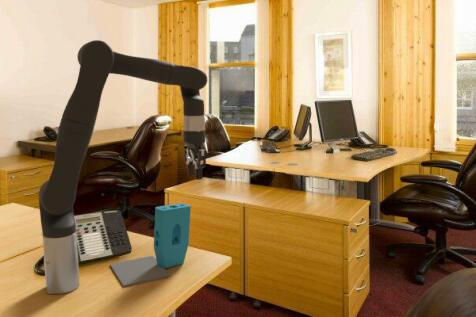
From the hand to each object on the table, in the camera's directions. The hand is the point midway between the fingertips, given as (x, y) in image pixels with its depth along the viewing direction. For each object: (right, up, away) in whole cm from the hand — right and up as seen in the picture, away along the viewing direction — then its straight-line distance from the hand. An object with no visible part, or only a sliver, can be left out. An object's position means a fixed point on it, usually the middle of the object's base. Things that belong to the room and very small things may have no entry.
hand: (194, 177), depth 145 cm
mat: (-18, -31, -5) cm, 36 cm away
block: (-8, -30, 0) cm, 31 cm away
